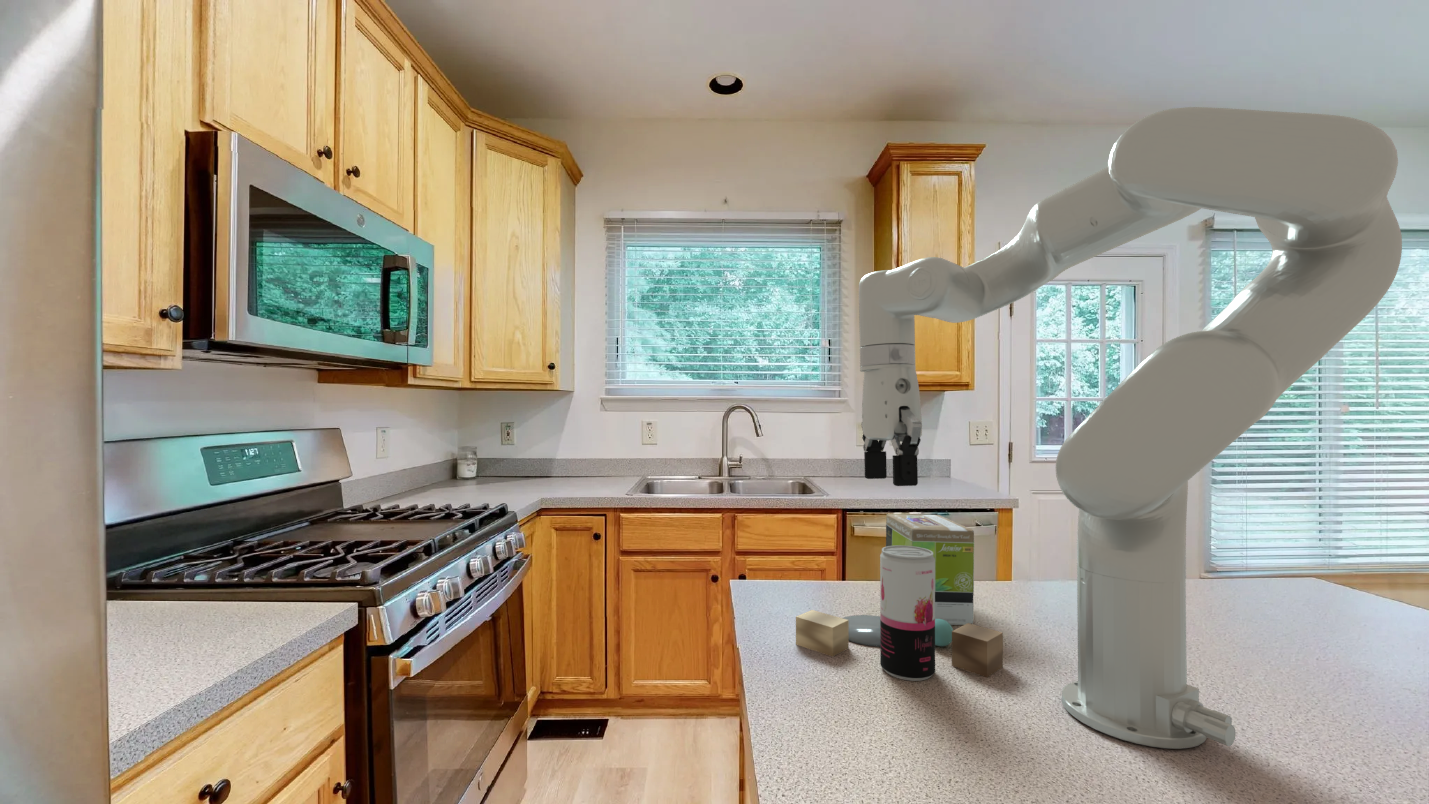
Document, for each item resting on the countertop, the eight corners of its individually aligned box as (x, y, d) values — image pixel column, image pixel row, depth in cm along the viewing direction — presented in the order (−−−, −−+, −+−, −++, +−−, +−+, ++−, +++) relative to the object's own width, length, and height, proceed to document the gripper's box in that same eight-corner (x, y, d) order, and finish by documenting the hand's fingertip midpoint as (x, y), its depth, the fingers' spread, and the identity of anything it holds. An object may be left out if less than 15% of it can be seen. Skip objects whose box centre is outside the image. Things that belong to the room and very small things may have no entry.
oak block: (848, 649, 81) (848, 620, 81) (832, 657, 78) (832, 627, 78) (812, 637, 85) (812, 609, 85) (795, 645, 82) (795, 616, 82)
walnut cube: (1002, 668, 75) (1002, 632, 75) (987, 678, 72) (987, 641, 72) (968, 656, 78) (968, 623, 78) (951, 666, 75) (951, 631, 75)
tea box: (976, 626, 89) (976, 529, 90) (910, 625, 90) (910, 528, 90) (940, 595, 104) (940, 512, 105) (883, 595, 105) (883, 511, 105)
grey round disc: (928, 638, 84) (928, 634, 84) (869, 652, 79) (869, 647, 79) (875, 614, 94) (875, 611, 94) (820, 625, 89) (820, 621, 89)
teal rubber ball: (959, 647, 81) (959, 621, 81) (940, 652, 79) (940, 625, 80) (939, 638, 84) (939, 613, 84) (920, 643, 83) (920, 617, 83)
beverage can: (940, 684, 70) (940, 558, 70) (883, 680, 71) (883, 556, 71) (929, 661, 77) (928, 546, 77) (877, 657, 78) (877, 544, 78)
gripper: (943, 353, 75) (947, 488, 74) (886, 366, 92) (889, 475, 91) (887, 353, 74) (890, 489, 73) (840, 366, 91) (842, 476, 90)
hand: (889, 481), depth 82 cm, fingers open, 9 cm apart
